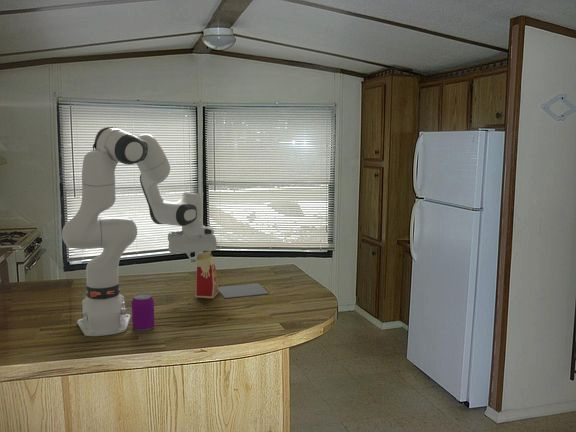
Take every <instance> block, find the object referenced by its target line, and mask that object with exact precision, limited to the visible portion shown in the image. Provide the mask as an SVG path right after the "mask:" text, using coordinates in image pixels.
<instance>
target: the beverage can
mask: <svg viewBox="0 0 576 432" xmlns="http://www.w3.org/2000/svg"><path fill="white" fill-rule="evenodd" d="M131 315H132V316H131V318H132V319H131V320H132V322H131V323H132V328H133V329H134V330H135V331H139V332H145V331H149V330H152V329H153V328H154V327H155V302H154V298H153V296H152V294H151V293H147V292H145V293H142V292H141V293H137V294H134V295H133V299H132V301H131Z"/></svg>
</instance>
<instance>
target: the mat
mask: <svg viewBox="0 0 576 432" xmlns="http://www.w3.org/2000/svg"><path fill="white" fill-rule="evenodd" d="M218 291H219V292H218V293H219V294H220V295H221V296H222V298H224V299H234V298H235V299H236V298H245V297H255V296H262V295H264V296H265V295H270V293H269V291H268V290H266V289H265V288H264V287H263V286H262V285H261V284H259V282H257V283H248V284H247V283H246V284H237V285H226V286H218Z"/></svg>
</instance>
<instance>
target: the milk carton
mask: <svg viewBox="0 0 576 432" xmlns="http://www.w3.org/2000/svg"><path fill="white" fill-rule="evenodd" d="M194 255H196V253H194ZM216 268H217V267H216V264H215V260H214V257H213V254H212V251H203V252H199V255H198V257H197V262H196V275H195V277H196V280H195V282H196V283H195V298H196V299H197V298H199V299H201V298H202V299H204V298H205V299H214V298H215V297H216V296H217V295H218V294H219V293H220V292H219V291H218V287H219V281H218V274H217V269H216Z"/></svg>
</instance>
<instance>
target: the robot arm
mask: <svg viewBox="0 0 576 432" xmlns="http://www.w3.org/2000/svg"><path fill="white" fill-rule="evenodd" d="M94 138H95V139H94V143H93V144H92V149H93V150H91V151H89V152H87V153H86V154H85V155H84V156H83V159H82V160H83V161H82V166H81V168H82V169H81V188H82V189H81V191H82V192H81V193H82V194H81V204H80V207H79V208H78V211H77V212H76V214H75V215H74V216H73V217H72V218H71V219H70V220H68V221H67V222H66V223H65V224H64V226H63V228H62V230H61V238H62V241H63V242H64V244H65V245H66V247H68V248H70V249H76V250H86V249H88V250H90V249H103V250H102V252H101V253H100V254H99V255H97V256H95V257H93V258H91V260H89V261H88V263H87V264H86V267H85V271H86V285H85V298H84V299H82V301H81V306H82V308H81V310H82V314H81V317H82V318H80V319H77V321H76V322H77V323H76V325H78V327H79V328H80V330H81V332H82V333H83V335H84V336H85V337H101V336H102V337H103V336H110V335H111V336H112V335H116V334H117V335H118V334H120V333H123V332H126V331H127V330H128V327H129V324H130V321H131V318H132V316H131V314H128V313H127V308H126V305H127V304H126V302H125V296H124V295H122V293H121V284H120V282H119V266H120V265H119V264H120V260H121V258H122V255H123V253H124V252H125V251H126V250H127V248H129V246H131V245H132V244H133V243H134V241H136V238H137V237H138V227H137V225H136V223H135V221H133V219H131V218H130V217H129V218H128V217H121V216H120V217H119V216H113V217H99V216H100V214H102V213H103V212H105V211H107V210H109V209H110V208H112V207H113V206H114V204H115V202H116V174H115V173H116V172H115V170H116V168H117V165H118V163H121V164H123V165H129V166H130V165H135V164H136V165H137V167H138V169H139V171H140V175H139V182H140V187H141V190H142V193H143V195H144V197H145V200H146V203H147V206H148V209H149V215H150V218H151V220H152V222H153V223H154V224H156V225H167V226H177V227H181V230H177V231H176V230H172V231H170V232H169V233H168V234H167V241H168V252H169V253H170V254H181V253H182V254H183V253H186V255H187V257H188V258H189V259H188V261H189V263H197V257H198V255H199V253H200V252H207V251H211V252H212V251H216V250H217V249H218V245H217V243H218V242H217V239H216V236H215V235H214V233H215V230H214V229H213V228H212V227H210V226H207V225H205V224H204V220H203V214H204V208H203V206H204V205H203V199H202V195H201V194H200V193H197V192H189V191H188V192H187V191H186V192H185V191H184V192H183V193H182V197H181V198H180V199H178V200H177V201H170V200H165V199H164V198H163V197H162V195H161V192H160V190H159V186H158V185H159V184H161V183H162V182H164V181H166V179H167V178H168V176H169V174H170V172H171V164H170V162H169V159H168V158H167V155H166V152H164V150H163V147H161V145H160V143H159V142H158V140H157V139H156V138H155V136H154V135H151V134H148V133H144V134H140V135H135V134H132V133H131V132H128V131H126V130H124V129H121V128H118V127H115V126H106V127H102V128H101V129H100V130H99V131H98V132H97V133H96V135H95V137H94ZM191 253H194V255H195V254H196V255H195V256H191V255H192V254H191Z"/></svg>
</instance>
